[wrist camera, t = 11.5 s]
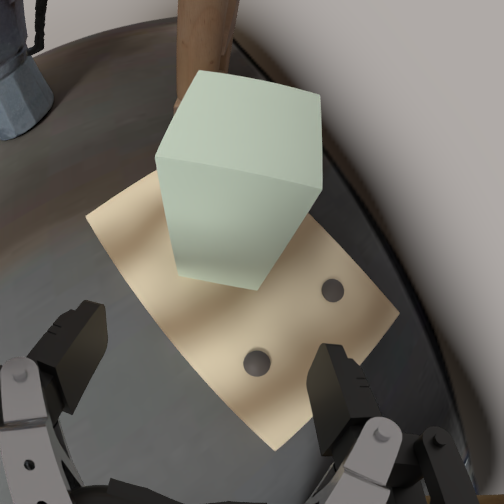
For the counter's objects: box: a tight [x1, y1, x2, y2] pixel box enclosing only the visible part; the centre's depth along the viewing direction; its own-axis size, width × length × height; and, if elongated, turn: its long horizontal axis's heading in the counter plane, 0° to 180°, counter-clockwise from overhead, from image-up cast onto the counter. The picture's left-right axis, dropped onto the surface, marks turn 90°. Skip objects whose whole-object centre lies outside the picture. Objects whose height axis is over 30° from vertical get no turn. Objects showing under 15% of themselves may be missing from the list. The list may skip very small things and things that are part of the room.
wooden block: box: [174, 0, 239, 115], centre depth 20 cm, size 4×11×18 cm, turn 175°
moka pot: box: [0, 0, 54, 140], centre depth 15 cm, size 10×15×20 cm, turn 94°
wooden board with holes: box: [86, 170, 400, 451], centre depth 18 cm, size 20×13×6 cm, turn 42°
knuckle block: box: [155, 70, 322, 291], centre depth 14 cm, size 5×5×11 cm
